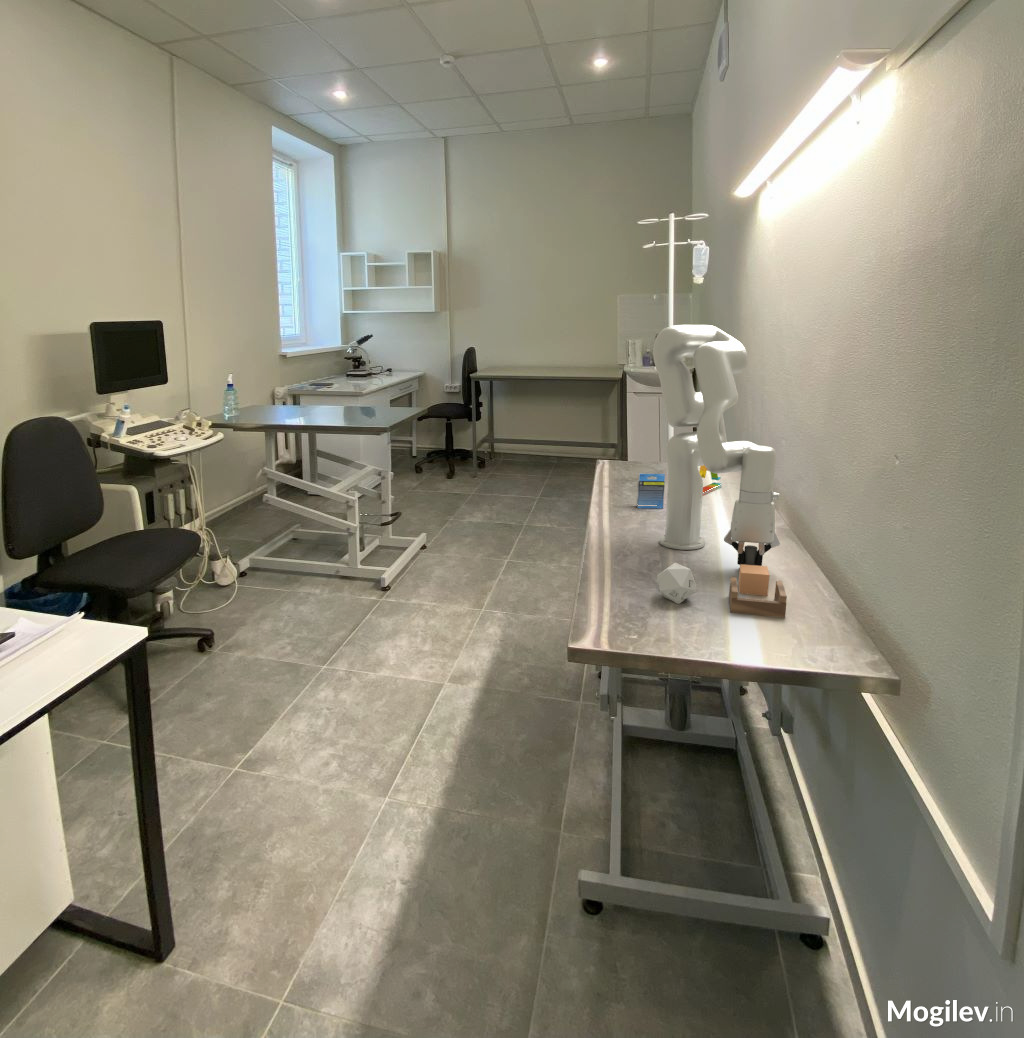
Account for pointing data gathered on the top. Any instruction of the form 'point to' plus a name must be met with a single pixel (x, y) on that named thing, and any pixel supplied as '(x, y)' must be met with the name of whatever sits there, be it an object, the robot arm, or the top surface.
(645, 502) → the label tape box
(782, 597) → the shelf lane
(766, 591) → the block
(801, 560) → the top surface
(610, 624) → the top surface
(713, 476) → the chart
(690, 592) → the die
